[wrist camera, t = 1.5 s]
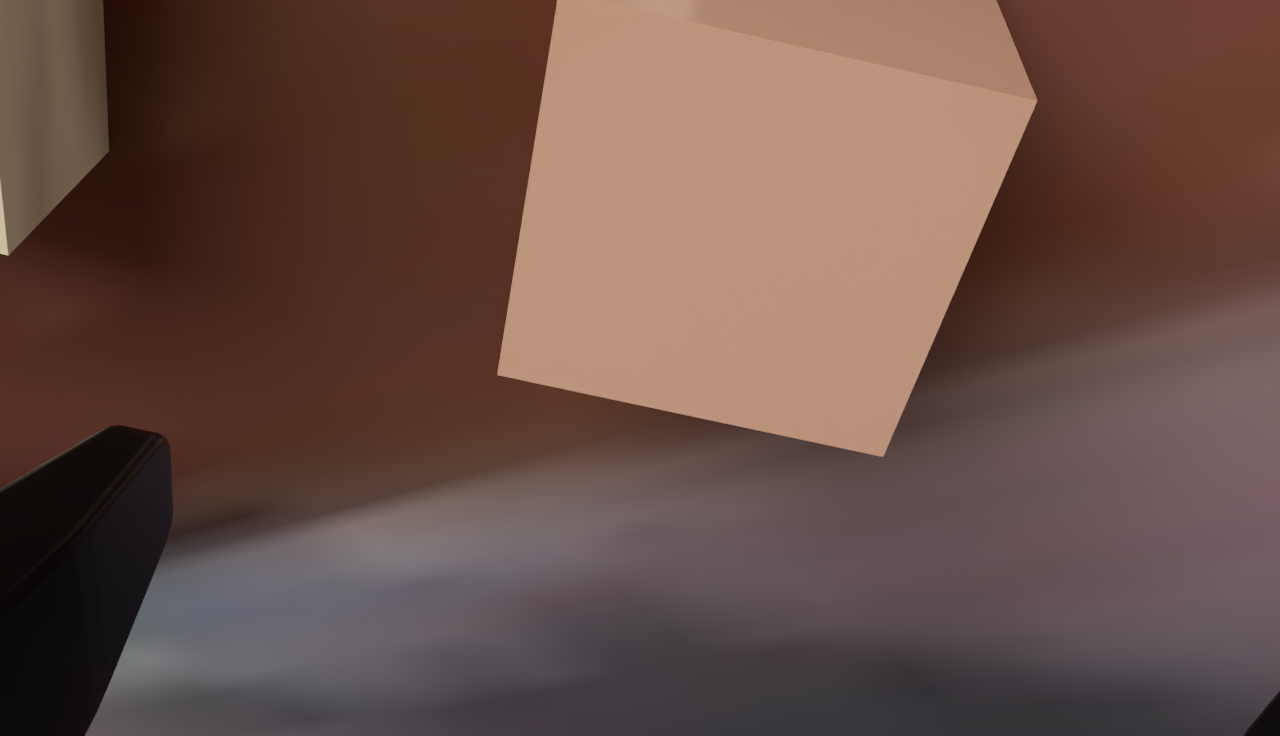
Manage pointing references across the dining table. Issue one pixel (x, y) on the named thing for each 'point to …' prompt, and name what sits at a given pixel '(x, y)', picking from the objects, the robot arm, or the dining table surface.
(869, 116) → the terracotta cube
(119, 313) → the dining table surface
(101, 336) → the dining table surface
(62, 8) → the maple base
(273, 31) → the dining table surface
